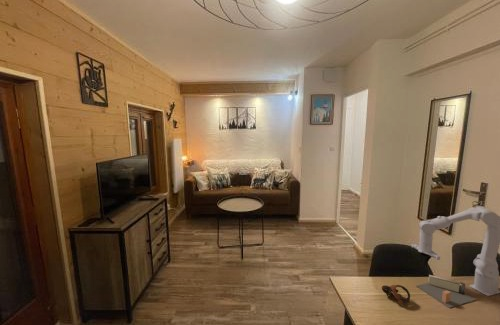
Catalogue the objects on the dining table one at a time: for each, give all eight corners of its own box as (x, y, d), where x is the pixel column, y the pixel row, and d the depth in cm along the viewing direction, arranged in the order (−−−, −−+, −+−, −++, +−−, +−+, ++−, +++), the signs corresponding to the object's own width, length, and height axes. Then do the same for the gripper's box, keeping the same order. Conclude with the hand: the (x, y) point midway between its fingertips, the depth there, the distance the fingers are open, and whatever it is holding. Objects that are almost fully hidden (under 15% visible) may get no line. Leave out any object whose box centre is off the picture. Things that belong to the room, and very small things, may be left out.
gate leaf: (458, 290, 114) (458, 282, 114) (458, 292, 113) (459, 283, 113) (428, 282, 121) (429, 274, 121) (428, 283, 120) (429, 275, 120)
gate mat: (441, 279, 124) (441, 279, 124) (476, 300, 109) (476, 299, 109) (416, 286, 120) (416, 285, 120) (449, 308, 105) (449, 307, 104)
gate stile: (446, 299, 109) (447, 290, 109) (450, 301, 108) (450, 292, 107) (441, 300, 109) (442, 291, 108) (445, 303, 107) (446, 293, 107)
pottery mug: (402, 293, 116) (410, 286, 111) (405, 312, 109) (414, 305, 104) (377, 284, 119) (384, 277, 114) (379, 302, 112) (386, 295, 107)
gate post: (460, 292, 114) (461, 281, 114) (465, 294, 112) (466, 284, 112) (457, 293, 114) (458, 282, 113) (462, 295, 112) (463, 285, 111)
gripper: (407, 237, 130) (406, 259, 131) (433, 249, 116) (431, 273, 117) (417, 236, 131) (415, 257, 133) (443, 247, 117) (441, 271, 119)
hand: (424, 264), depth 125 cm, fingers closed
